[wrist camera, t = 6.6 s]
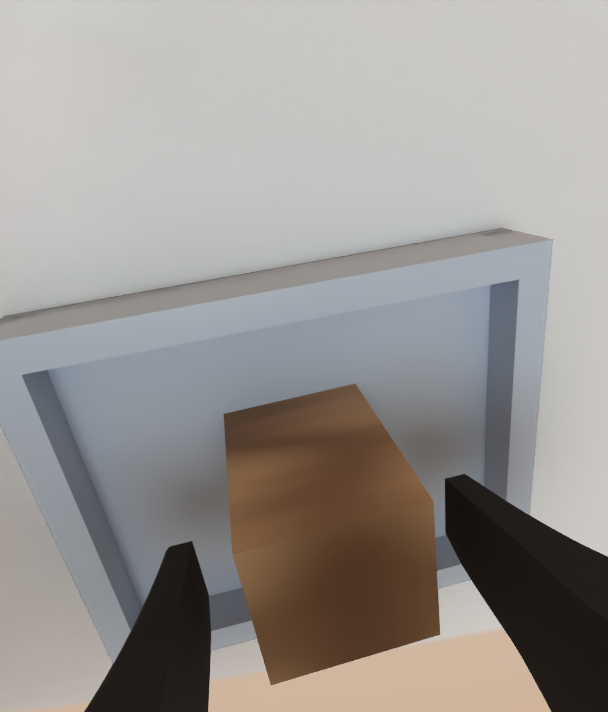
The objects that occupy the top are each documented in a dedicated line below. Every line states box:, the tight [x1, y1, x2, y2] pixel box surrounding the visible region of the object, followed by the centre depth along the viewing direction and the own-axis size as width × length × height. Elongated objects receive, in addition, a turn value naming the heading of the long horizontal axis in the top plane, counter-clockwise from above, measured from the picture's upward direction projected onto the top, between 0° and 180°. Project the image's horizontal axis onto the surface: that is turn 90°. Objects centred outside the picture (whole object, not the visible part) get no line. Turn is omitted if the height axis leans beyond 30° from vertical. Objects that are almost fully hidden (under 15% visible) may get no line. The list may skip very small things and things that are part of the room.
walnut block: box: [224, 384, 440, 685], centre depth 14 cm, size 4×4×6 cm
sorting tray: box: [0, 228, 553, 664], centre depth 16 cm, size 16×13×2 cm
